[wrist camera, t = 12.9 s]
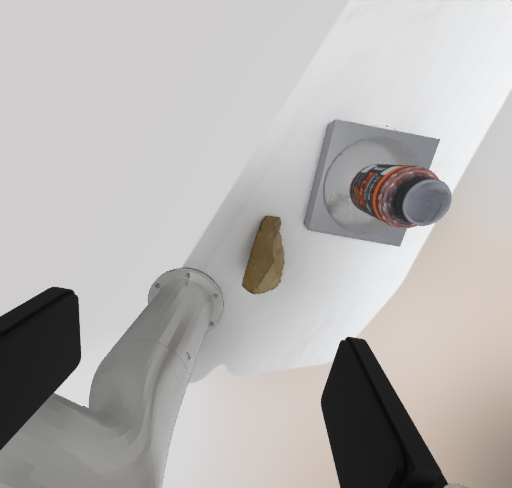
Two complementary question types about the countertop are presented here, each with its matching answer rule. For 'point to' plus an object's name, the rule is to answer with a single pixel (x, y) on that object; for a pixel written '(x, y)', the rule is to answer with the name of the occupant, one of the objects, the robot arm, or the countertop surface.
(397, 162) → the scale pan
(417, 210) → the supplement bottle
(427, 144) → the scale base
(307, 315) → the countertop surface
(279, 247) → the rock
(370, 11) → the countertop surface
